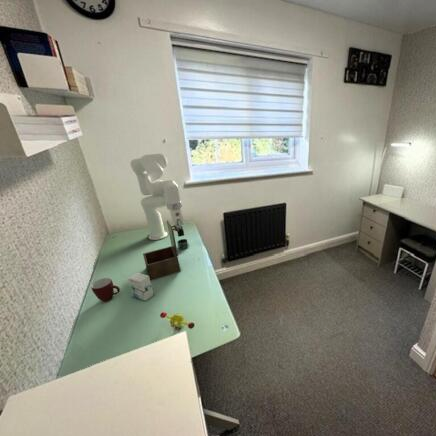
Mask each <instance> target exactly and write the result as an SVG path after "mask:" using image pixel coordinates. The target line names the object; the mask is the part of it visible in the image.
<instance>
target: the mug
mask: <svg viewBox="0 0 436 436" xmlns="http://www.w3.org/2000/svg"><path fill="white" fill-rule="evenodd" d="M90 288H91V290H92V293H93V294H94V296H95V297H96V298H97V299H98V300H99V301H101V302H103V303H107V302H110V301H111V300H112V299H113V297H114V296H115V295H118V294H119V293H120V292H121V289H120V287H119V286H118V285H114V282H113V280H112V279H111V278H110V277H104V278H103V277H102V278H100V279H98V280H96V281H94V282H93V283H92V284H91V286H90ZM115 290H116V292H115Z"/></svg>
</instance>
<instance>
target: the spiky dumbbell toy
mask: <svg viewBox="0 0 436 436" xmlns="http://www.w3.org/2000/svg"><path fill="white" fill-rule="evenodd" d="M159 316H160V318H161V319H165V318H166V319H168V320H167V323H169V324H170V327H171V328H174V329H177V330H180V329H181V328H182V325H184V326H187V328H188V329H190V330H192V329H194V327H195V323H194V322H193V321H191V322H189V323H188V322H187V321H184V316H183V315H182V314H180V313H175V314H173V315H172V316H170V315H168V313H167V312H166V311H162V312H161V313H160V314H159Z"/></svg>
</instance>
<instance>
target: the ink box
mask: <svg viewBox="0 0 436 436" xmlns="http://www.w3.org/2000/svg"><path fill="white" fill-rule="evenodd" d="M128 281H129V285H130V288H131V292H132V295H133V297H134V298H135V299H139V300H143V301H148V300H150V299H151V298H152V297H153V296H154V291H153V287H152V282H151V281H150V278H149V275H148V274H143V273H140V272H135V273H134V274H132V275H130V276H129V277H128Z"/></svg>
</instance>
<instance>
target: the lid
mask: <svg viewBox="0 0 436 436" xmlns="http://www.w3.org/2000/svg"><path fill="white" fill-rule="evenodd" d="M166 225H167V230H168V235H169V240H170V246H172V247H173V250H174V252H175V254H176V256H177V257H179V253H178V246H177V242H176V236H175V233H174V232H175V230H177V226H174V225H172V224H170V222H169V220H166ZM177 225H178V224H177ZM174 227H176V228H174ZM178 228H179V226H178Z"/></svg>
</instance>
